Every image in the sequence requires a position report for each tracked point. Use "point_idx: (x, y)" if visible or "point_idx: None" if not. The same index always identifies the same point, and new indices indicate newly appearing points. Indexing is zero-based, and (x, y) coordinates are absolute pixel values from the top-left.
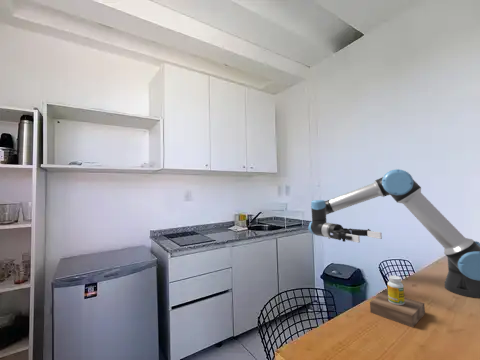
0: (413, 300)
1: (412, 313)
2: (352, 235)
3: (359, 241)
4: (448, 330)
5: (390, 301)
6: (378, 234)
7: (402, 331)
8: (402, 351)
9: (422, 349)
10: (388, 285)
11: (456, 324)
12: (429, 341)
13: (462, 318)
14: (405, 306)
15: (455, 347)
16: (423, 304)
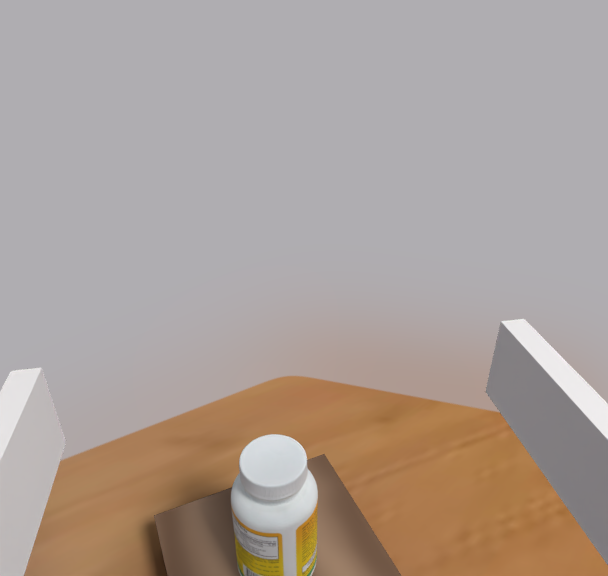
0: (171, 550)
1: (307, 463)
2: (583, 388)
3: (494, 381)
4: (223, 447)
5: (316, 557)
6: (40, 418)
7: (384, 480)
8: (461, 416)
9: (397, 410)
10: (316, 505)
11: (151, 462)
12: (343, 426)
13: (75, 482)
14: None
15: (300, 397)
16: (169, 512)
